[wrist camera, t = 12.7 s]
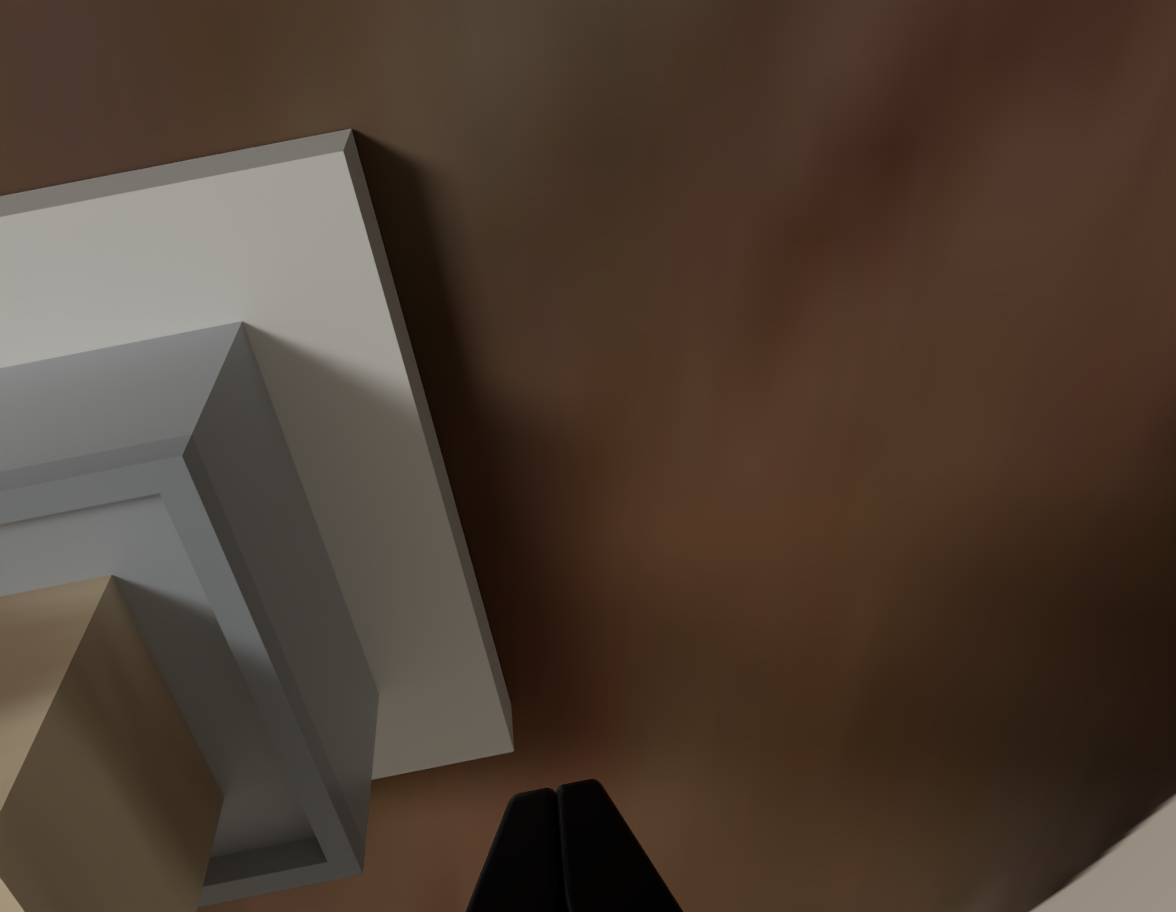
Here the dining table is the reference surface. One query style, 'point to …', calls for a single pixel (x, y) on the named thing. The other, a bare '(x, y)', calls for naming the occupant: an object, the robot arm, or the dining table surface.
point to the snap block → (95, 762)
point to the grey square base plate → (247, 484)
